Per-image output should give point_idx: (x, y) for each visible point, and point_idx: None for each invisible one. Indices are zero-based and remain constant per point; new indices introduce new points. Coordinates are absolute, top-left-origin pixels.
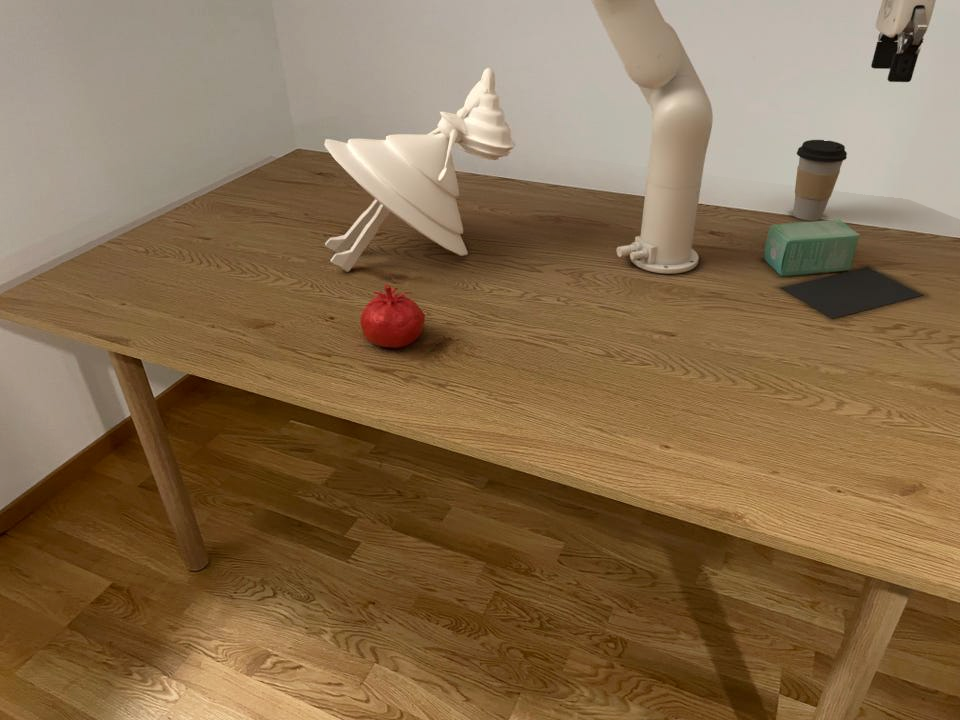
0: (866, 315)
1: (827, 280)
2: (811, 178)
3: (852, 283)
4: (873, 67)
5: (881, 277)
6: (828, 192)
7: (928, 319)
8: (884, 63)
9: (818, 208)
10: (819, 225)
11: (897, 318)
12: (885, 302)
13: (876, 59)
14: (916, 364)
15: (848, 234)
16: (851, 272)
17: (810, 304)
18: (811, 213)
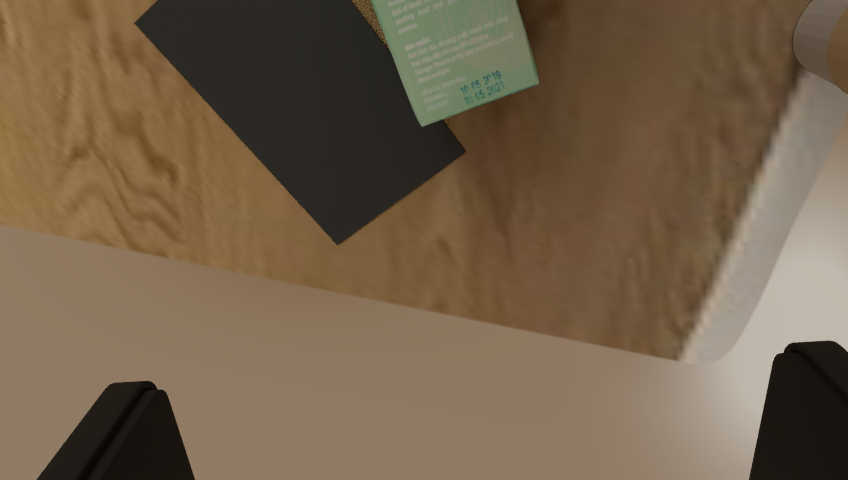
0: (190, 107)
1: (354, 37)
2: None
3: (353, 99)
4: (794, 354)
5: (408, 173)
6: (846, 87)
7: (222, 231)
8: (786, 466)
9: (812, 56)
10: (475, 10)
11: (202, 172)
12: (270, 160)
13: (830, 421)
14: (10, 171)
15: (415, 95)
16: None
17: None
18: (805, 35)
